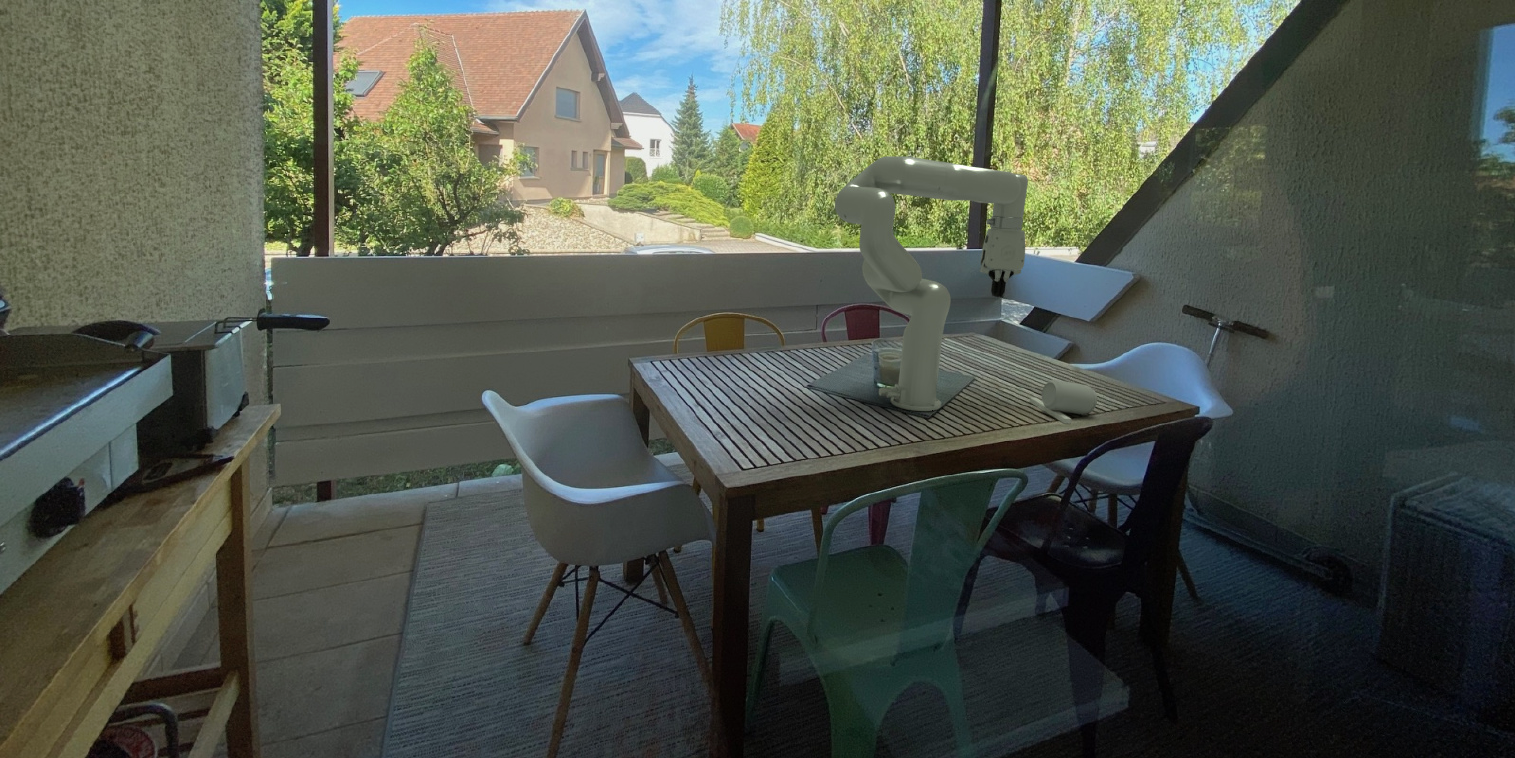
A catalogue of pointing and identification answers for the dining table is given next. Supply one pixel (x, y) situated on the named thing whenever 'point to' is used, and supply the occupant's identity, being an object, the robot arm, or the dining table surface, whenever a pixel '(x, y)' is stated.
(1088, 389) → the can
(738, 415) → the dining table surface
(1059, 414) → the stop strip
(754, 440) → the dining table surface
